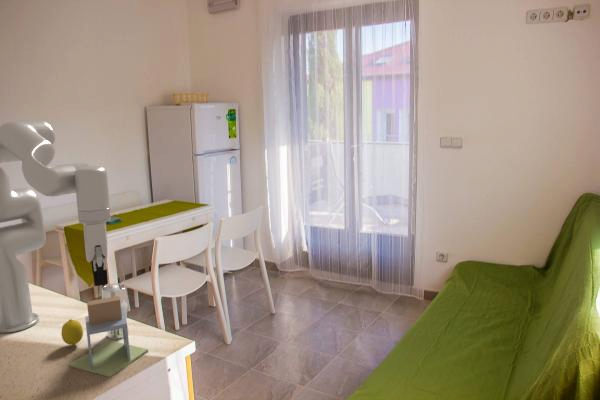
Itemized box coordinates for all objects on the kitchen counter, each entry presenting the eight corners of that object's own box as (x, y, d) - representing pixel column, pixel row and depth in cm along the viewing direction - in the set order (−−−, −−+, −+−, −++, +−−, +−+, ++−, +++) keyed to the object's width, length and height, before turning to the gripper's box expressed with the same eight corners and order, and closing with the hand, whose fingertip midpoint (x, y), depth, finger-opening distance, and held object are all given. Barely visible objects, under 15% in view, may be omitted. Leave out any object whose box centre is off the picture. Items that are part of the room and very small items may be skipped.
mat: (70, 365, 128) (69, 363, 128) (110, 342, 140) (110, 340, 140) (109, 377, 122) (109, 375, 122) (148, 351, 134) (148, 349, 134)
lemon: (76, 350, 136) (73, 324, 134) (58, 349, 137) (55, 323, 135) (88, 341, 141) (85, 315, 139) (71, 340, 142) (68, 314, 140)
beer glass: (100, 338, 143) (95, 290, 140) (117, 328, 149) (112, 281, 146) (120, 341, 140) (114, 292, 137) (135, 331, 147) (131, 284, 144)
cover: (89, 352, 133) (82, 297, 130) (126, 344, 137) (121, 291, 134) (91, 369, 125) (84, 311, 121) (130, 360, 129) (125, 303, 125)
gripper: (77, 209, 129) (83, 270, 133) (79, 224, 114) (85, 292, 118) (107, 206, 133) (112, 266, 136) (112, 221, 117) (118, 287, 121)
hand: (100, 278), depth 127 cm, fingers open, 9 cm apart
